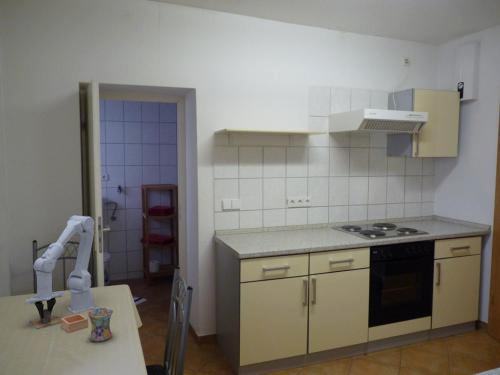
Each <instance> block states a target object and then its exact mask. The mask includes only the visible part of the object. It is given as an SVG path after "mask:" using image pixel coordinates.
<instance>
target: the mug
mask: <svg viewBox="0 0 500 375" xmlns="http://www.w3.org/2000/svg"><path fill="white" fill-rule="evenodd" d="M113 313H114V311H113V309H112V308H110V307H98V308H94V309H90V310H89V311H88V312H87V316H88V318H89V320H90V324H91V326H90V327H91V330H90V334H89V338H88V339H89V340H91V341H93V342H103V341H106V340H108V339H110V338H112V336H113V333H112V331H111V327H110V324H111V322H110V321H111V319H112V318H111V317H112V315H113Z"/></svg>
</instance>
